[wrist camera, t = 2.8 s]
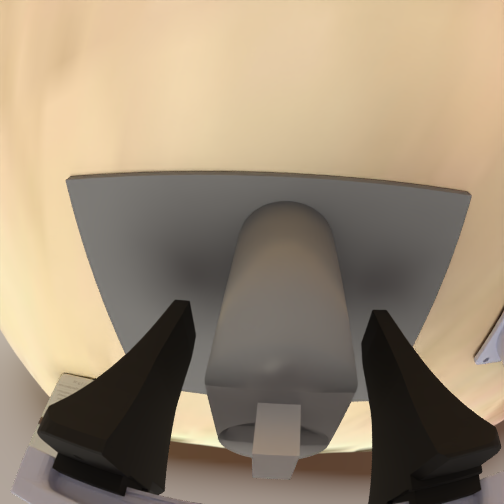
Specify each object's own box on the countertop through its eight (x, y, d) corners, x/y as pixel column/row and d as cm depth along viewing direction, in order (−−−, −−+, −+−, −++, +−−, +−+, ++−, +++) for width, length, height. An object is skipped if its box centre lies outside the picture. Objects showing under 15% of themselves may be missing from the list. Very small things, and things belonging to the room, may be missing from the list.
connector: (339, 203, 12) (387, 408, 5) (315, 339, 17) (318, 494, 10) (237, 198, 13) (177, 398, 6) (242, 335, 17) (217, 488, 10)
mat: (467, 191, 12) (471, 195, 11) (381, 395, 21) (382, 400, 20) (70, 176, 13) (65, 180, 13) (141, 379, 22) (139, 383, 22)
